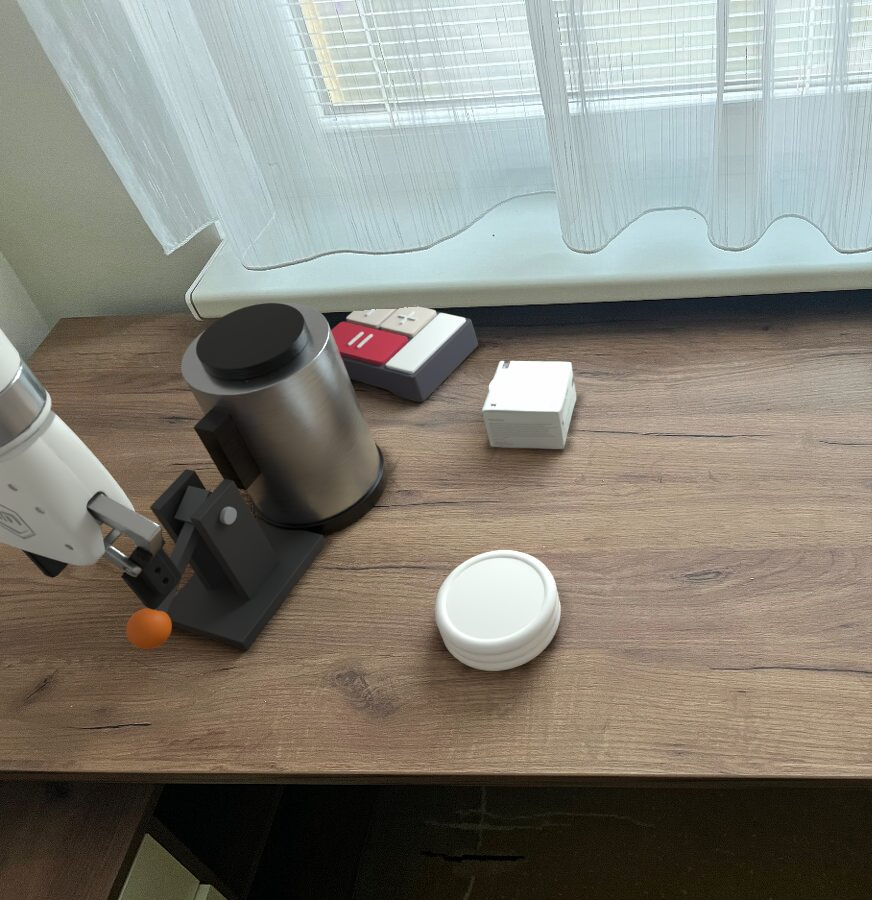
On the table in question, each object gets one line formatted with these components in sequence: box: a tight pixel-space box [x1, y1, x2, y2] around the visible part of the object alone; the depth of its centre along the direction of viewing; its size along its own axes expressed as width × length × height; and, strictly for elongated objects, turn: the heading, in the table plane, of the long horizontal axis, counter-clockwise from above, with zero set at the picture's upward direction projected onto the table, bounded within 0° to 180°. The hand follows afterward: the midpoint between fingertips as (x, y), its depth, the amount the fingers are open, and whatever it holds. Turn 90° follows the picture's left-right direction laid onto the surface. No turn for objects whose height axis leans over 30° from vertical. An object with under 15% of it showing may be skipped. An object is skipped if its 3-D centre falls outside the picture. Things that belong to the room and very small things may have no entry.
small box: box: [481, 360, 577, 450], centre depth 88 cm, size 8×8×5 cm
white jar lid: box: [434, 549, 562, 672], centre depth 71 cm, size 10×10×4 cm
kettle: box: [180, 302, 389, 536], centre depth 79 cm, size 15×13×19 cm
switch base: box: [149, 468, 327, 651], centre depth 74 cm, size 12×9×12 cm
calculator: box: [331, 305, 479, 403], centre depth 98 cm, size 11×4×15 cm
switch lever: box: [125, 486, 213, 650], centre depth 70 cm, size 13×3×3 cm, turn 158°
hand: (115, 577), depth 64 cm, fingers open, 9 cm apart
